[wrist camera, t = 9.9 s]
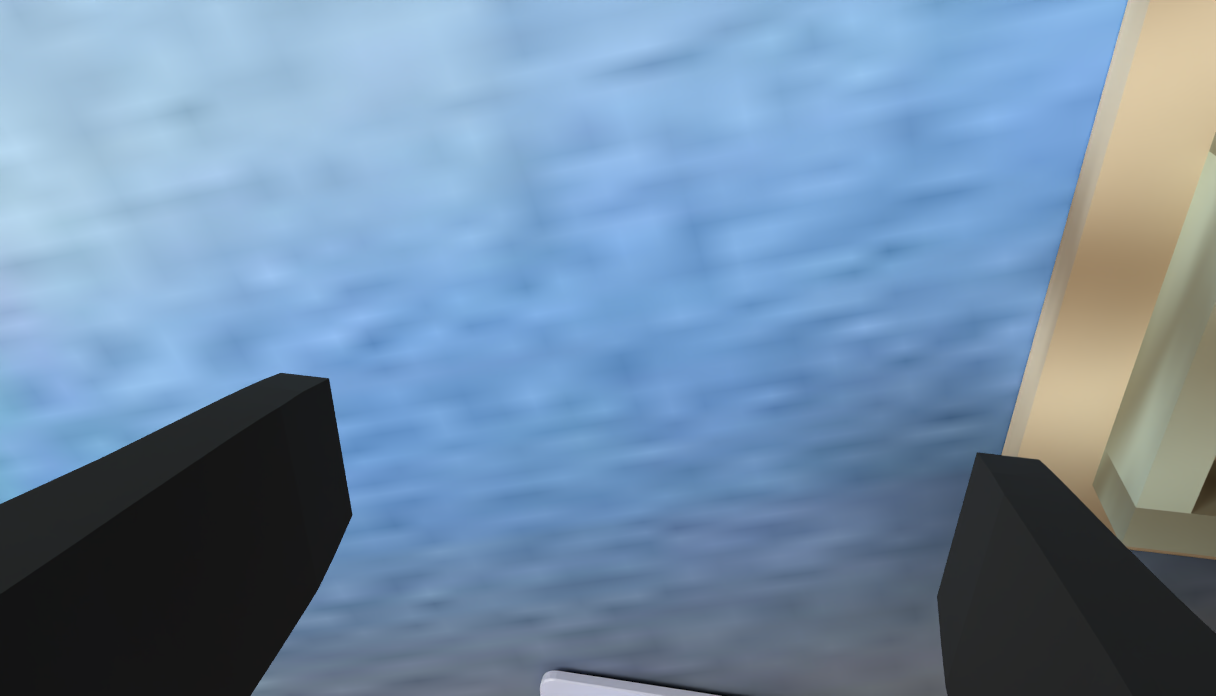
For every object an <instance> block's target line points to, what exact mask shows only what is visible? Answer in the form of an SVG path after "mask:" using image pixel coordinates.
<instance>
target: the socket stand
mask: <svg viewBox="0 0 1216 696" xmlns="http://www.w3.org/2000/svg"><path fill="white" fill-rule="evenodd" d="M1002 455H1004V456H1012V457H1021V458H1030V459H1039V460H1040V461H1041V462H1042V463H1044V464H1045V465H1046V466H1047V467H1048V468H1049V469H1050V470H1051V471H1052V472H1053V473H1054V474H1055V475H1056V476H1057V477H1058V478H1059V479H1060V480H1061V481H1062V482H1063V483H1064V484H1065V485H1066V486H1067V487H1068V488H1069V489H1070V490H1071V491H1072V492H1073V493H1074V494H1075V495H1076V496H1077V497H1078V498H1079V499H1080V500H1081V501H1082V502H1083V503H1084V504H1085V505H1086V506H1087V507H1088V508H1089V509H1090V510H1091V511H1092V512H1093V513H1094V515H1095V516H1096V517H1097V518H1098V519H1099V520H1100V521H1101V522H1102V523H1103V524H1104V525H1105V526H1106V527H1107V528H1108V529H1109V530H1110V531H1111V532H1112V533H1113V534H1114V535H1115V536H1116V537H1117V538H1118V539H1119V540H1120V541H1121V542H1122V543H1123V544H1124V545H1125V546H1126V547H1127V548H1128V549H1130V550H1138V551H1147V552H1155V553H1164V554H1172V555H1180V556H1189V557H1197V558H1206V559H1214V560H1216V0H1128V3H1127V6H1126V10H1125V14H1124V17H1123V21H1122V24H1121V28H1120V31H1119V35H1118V39H1117V42H1116V46H1115V49H1114V53H1113V57H1112V60H1111V64H1110V67H1109V71H1108V75H1107V78H1106V82H1105V85H1104V89H1103V92H1102V96H1101V100H1100V103H1099V107H1098V110H1097V114H1096V118H1095V121H1094V125H1093V128H1092V132H1091V136H1090V139H1089V143H1088V146H1087V150H1086V153H1085V157H1084V161H1083V164H1082V168H1081V171H1080V175H1079V179H1078V182H1077V186H1076V189H1075V193H1074V197H1073V200H1072V204H1071V207H1070V211H1069V214H1068V218H1067V222H1066V225H1065V229H1064V232H1063V236H1062V240H1061V243H1060V247H1059V250H1058V254H1057V258H1056V261H1055V265H1054V268H1053V272H1052V275H1051V279H1050V283H1049V286H1048V290H1047V293H1046V297H1045V301H1044V304H1043V308H1042V311H1041V315H1040V319H1039V322H1038V326H1037V329H1036V333H1035V336H1034V340H1033V344H1032V347H1031V351H1030V354H1029V358H1028V362H1027V365H1026V369H1025V372H1024V376H1023V380H1022V383H1021V387H1020V390H1019V394H1018V397H1017V401H1016V405H1015V408H1014V412H1013V415H1012V419H1011V423H1010V426H1009V430H1008V433H1007V437H1006V441H1005V444H1004V448H1003V451H1002Z"/></svg>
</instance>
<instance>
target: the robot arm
mask: <svg viewBox="0 0 1216 696" xmlns="http://www.w3.org/2000/svg"><path fill="white" fill-rule="evenodd" d="M351 517H352V510H351V504H350V498H349V493H348V487H347V481H346V475H345V469H344V464H343V458H342V452H341V446H340V440H339V434H338V429H337V423H336V417H335V411H334V405H333V399H332V394H331V388H330V382H329V378H321V377H312V376H303V375H294V374H286V373H279V374H277V375H274V376H272V377H269V378H266V379H264V380H261V381H259V382H257V383H254V384H252V385H250V386H248V387H246V388H243V389H241V390H239V391H237V392H235V393H233V394H231V395H228V396H226V397H224V398H222V399H220V400H218V401H216V402H214V403H212V404H210V405H208V406H206V407H204V408H202V409H200V410H198V411H196V412H194V413H192V414H190V415H188V416H186V417H184V418H182V419H180V420H178V421H176V422H174V423H171V424H169V425H167V426H165V427H163V428H161V429H159V430H157V431H155V432H153V433H151V434H149V435H147V436H145V437H143V438H141V439H139V440H137V441H135V442H133V443H131V444H129V445H127V446H125V447H123V448H121V449H119V450H117V451H115V452H113V453H111V454H109V455H107V456H105V457H102V458H100V459H98V460H96V461H94V462H92V463H89V464H87V465H85V466H83V467H81V468H79V469H76V470H74V471H72V472H70V473H68V474H65V475H63V476H61V477H59V478H57V479H54V480H52V481H50V482H48V483H46V484H43V485H41V486H39V487H37V488H35V489H33V490H30V491H28V492H26V493H24V494H22V495H19V496H17V497H15V498H13V499H11V500H8V501H6V502H4V503H2V504H0V696H250V695H251V694H252V692H253V691H254V689H255V688H256V686H257V685H258V683H259V682H260V680H261V678H262V677H263V675H264V674H265V672H266V671H267V669H268V668H269V666H270V665H271V663H272V661H273V660H274V658H275V657H276V655H277V654H278V652H279V651H280V649H281V648H282V646H283V644H284V643H285V641H286V640H287V638H288V637H289V635H290V633H291V632H292V630H293V629H294V627H295V625H296V624H297V622H298V621H299V619H300V618H301V616H302V614H303V613H304V611H305V610H306V608H307V606H308V605H309V603H310V602H311V600H312V598H313V597H314V595H315V593H316V592H317V590H318V588H319V586H320V584H321V582H322V580H323V578H324V576H325V574H326V572H327V570H328V568H329V566H330V564H331V562H332V560H333V557H334V555H335V553H336V551H337V549H338V546H339V544H340V542H341V540H342V537H343V535H344V533H345V531H346V528H347V526H348V524H349V521H350V519H351ZM937 600H938V611H939V623H940V635H941V647H942V656H943V666H944V675H945V685H946V690H947V694H948V696H1216V634H1215V633H1214V632H1213V631H1212V630H1211V629H1210V628H1209V627H1208V626H1207V625H1206V624H1205V623H1204V622H1203V621H1201V620H1200V619H1199V618H1198V617H1197V616H1196V615H1195V614H1194V613H1193V612H1192V611H1191V610H1190V609H1189V608H1188V607H1187V606H1186V605H1185V604H1184V603H1183V602H1182V601H1180V600H1179V599H1178V598H1177V597H1176V596H1175V595H1174V594H1173V593H1172V592H1171V591H1170V590H1169V589H1168V588H1167V587H1166V586H1165V585H1164V584H1163V583H1162V582H1161V581H1160V580H1159V579H1158V578H1157V577H1156V576H1155V575H1154V574H1153V573H1152V572H1151V571H1150V570H1149V569H1148V568H1147V567H1146V566H1145V565H1144V564H1143V563H1142V562H1141V561H1140V560H1139V559H1138V558H1137V557H1136V556H1135V555H1134V554H1133V553H1132V552H1131V551H1130V550H1129V549H1128V548H1127V547H1126V546H1125V545H1124V544H1123V543H1122V542H1121V541H1120V540H1119V539H1118V538H1117V537H1116V536H1115V535H1114V534H1113V533H1112V532H1111V531H1110V530H1109V529H1108V528H1107V527H1106V526H1105V525H1104V524H1103V523H1102V522H1101V521H1100V520H1099V519H1098V518H1097V517H1096V516H1095V515H1094V513H1093V512H1092V511H1091V510H1090V509H1089V508H1088V507H1087V506H1086V505H1085V504H1084V503H1083V502H1082V501H1081V500H1080V499H1079V498H1078V497H1077V496H1076V495H1075V494H1074V493H1073V492H1072V491H1071V490H1070V489H1069V488H1068V487H1067V486H1066V485H1065V484H1064V483H1063V482H1062V481H1061V480H1060V479H1059V478H1058V477H1057V476H1056V475H1055V474H1054V473H1053V472H1052V471H1051V470H1050V469H1049V468H1048V467H1047V466H1046V465H1045V464H1044V463H1042V462H1041V461H1040V460H1039V459H1030V458H1021V457H1012V456H1004V455H995V454H986V453H977V454H976V458H975V462H974V465H973V469H972V472H971V476H970V480H969V483H968V487H967V491H966V494H965V498H964V501H963V505H962V509H961V512H960V516H959V519H958V523H957V527H956V530H955V534H954V538H953V541H952V545H951V548H950V552H949V556H948V559H947V563H946V566H945V570H944V574H943V577H942V581H941V585H940V588H939V592H938V595H937ZM540 695H541V696H720V695H714V694H707V693H701V692H694V691H688V690H681V689H675V688H668V687H662V686H655V685H649V684H642V683H636V682H629V681H623V680H616V679H610V678H603V677H597V676H590V675H584V674H577V673H571V672H564V671H554V670H553V671H549V672H546V673H545V674H544V675H543V678H542V682H541V685H540Z"/></svg>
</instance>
